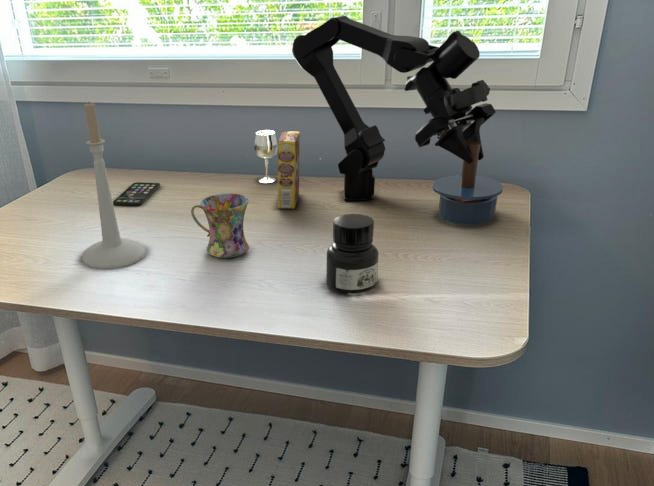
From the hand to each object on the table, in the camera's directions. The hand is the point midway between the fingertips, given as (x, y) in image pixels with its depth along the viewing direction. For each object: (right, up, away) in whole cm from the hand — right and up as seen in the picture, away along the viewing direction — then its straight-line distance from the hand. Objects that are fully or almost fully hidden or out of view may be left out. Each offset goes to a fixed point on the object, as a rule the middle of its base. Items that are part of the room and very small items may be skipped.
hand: (476, 160), depth 136 cm
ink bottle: (-27, -26, -13) cm, 40 cm away
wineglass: (-40, +6, +40) cm, 57 cm away
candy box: (-35, -3, +25) cm, 43 cm away
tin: (+1, -9, +11) cm, 14 cm away
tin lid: (-1, -4, +4) cm, 6 cm away
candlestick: (-73, -18, +4) cm, 75 cm away
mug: (-51, -18, +2) cm, 54 cm away
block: (+1, -9, +11) cm, 14 cm away
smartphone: (-73, +1, +35) cm, 81 cm away
